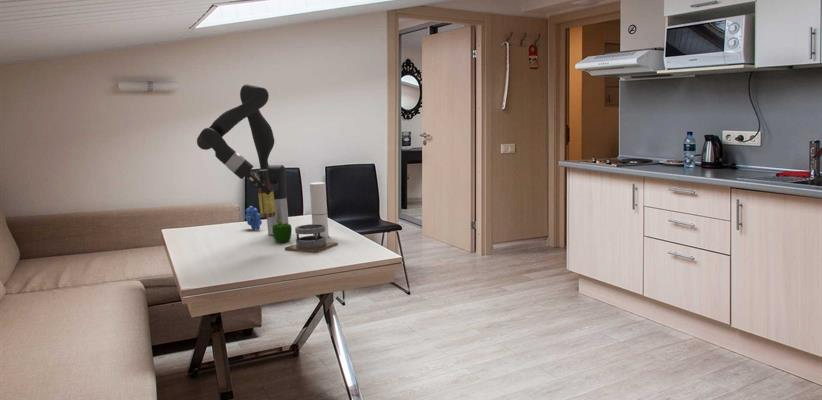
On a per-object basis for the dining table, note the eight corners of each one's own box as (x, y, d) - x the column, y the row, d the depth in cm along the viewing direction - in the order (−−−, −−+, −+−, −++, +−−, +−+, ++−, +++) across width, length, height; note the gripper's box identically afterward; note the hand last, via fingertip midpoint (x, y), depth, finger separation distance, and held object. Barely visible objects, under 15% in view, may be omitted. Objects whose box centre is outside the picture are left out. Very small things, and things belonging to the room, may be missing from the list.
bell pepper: (294, 241, 286) (293, 219, 284) (277, 244, 282) (275, 222, 280) (288, 239, 293) (286, 217, 291) (271, 241, 289) (269, 219, 287)
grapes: (240, 229, 322) (238, 206, 320) (251, 227, 327) (249, 204, 326) (254, 231, 315) (252, 207, 313) (265, 229, 320) (263, 206, 318)
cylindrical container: (330, 234, 298) (326, 182, 295) (326, 237, 291) (323, 183, 288) (315, 235, 299) (311, 182, 296) (311, 238, 292) (307, 184, 289)
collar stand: (284, 250, 269) (283, 229, 268) (308, 242, 283) (307, 222, 281) (315, 252, 261) (313, 231, 260) (337, 244, 275) (336, 224, 274)
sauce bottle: (278, 215, 270) (275, 168, 267) (270, 218, 264) (267, 170, 261) (265, 215, 272) (261, 168, 269) (256, 217, 266) (253, 170, 263)
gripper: (243, 160, 256) (275, 187, 260) (246, 157, 270) (276, 183, 274) (231, 174, 256) (263, 201, 260) (234, 170, 270) (265, 196, 274)
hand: (270, 192), depth 267 cm, fingers closed on sauce bottle, 6 cm apart
